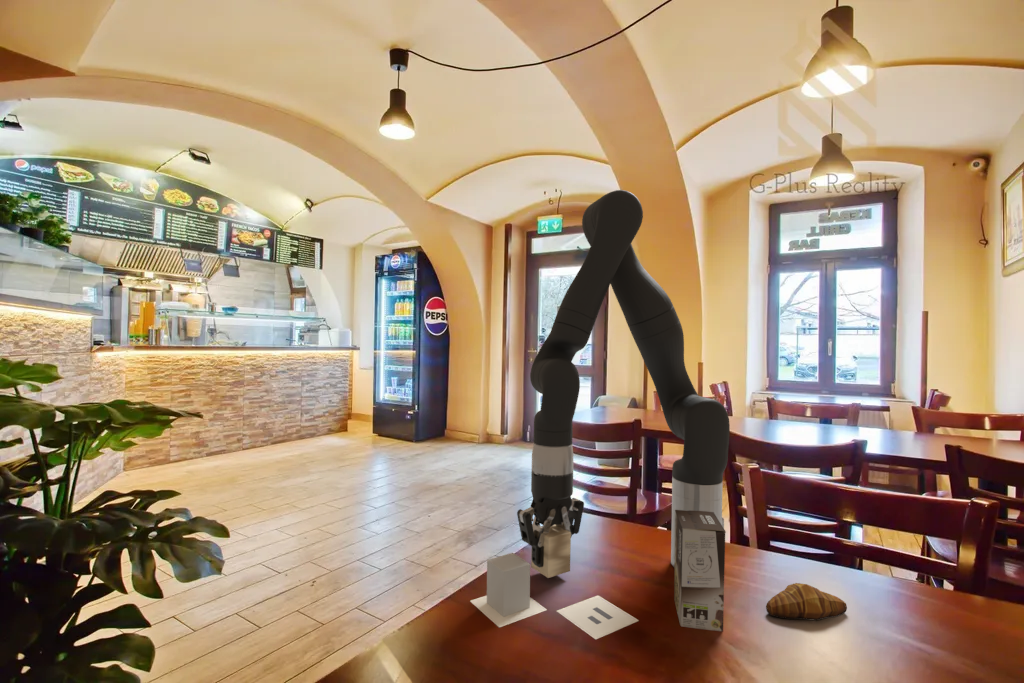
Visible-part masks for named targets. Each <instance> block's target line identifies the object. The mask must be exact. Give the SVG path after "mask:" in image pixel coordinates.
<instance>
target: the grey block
mask: <svg viewBox="0 0 1024 683" xmlns="http://www.w3.org/2000/svg"><path fill="white" fill-rule="evenodd" d="M486 595H487V603H488V604H489V605H490V606H491V607H492V608H493V609H495V610H496V611H497V612H498V613H499V614H500V615H502V616H503V617H505V616H508V615H511V614H513V613H516V612H519V611H522V610H525V609H527V608H530V596H531V563H530V562H528V561H526V560H525V559H523V558H522V557H520V556H519V555H517V554H516V553H514V552H511V553H507V554H504V555H499V556H495V557H493V558H488V559H487V560H486Z"/></svg>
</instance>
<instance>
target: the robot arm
mask: <svg viewBox="0 0 1024 683" xmlns="http://www.w3.org/2000/svg"><path fill="white" fill-rule="evenodd" d="M643 219H644V211H643V207H642V204H641V201H640V199H639V198H638V197H637V196H636V195H635V194H634V193H632V192H630V191H628V190H623V189H618V190H617V189H616V190H614V191H610V192H608V193H606V194H604V195H602V196H601V197H600V198H597V200H595V201H594V202H592V203H591V204H589V206H587V208H586V209H585V210H584V212H583V215H582V219H581V226H582V230H583V234H584V236H585V239H586V240H587V242H588V244H589V246H590V247H589V249H588V250H589V251H588V252H587V255H586V257H585V259H584V261H583V262H582V265H581V267H580V269H579V271H578V272H577V273H576V275H575V277H574V278H573V280H572V282H571V284H570V285H569V286H568V289H567V290H566V292H565V294H564V296H563V298H562V301H561V303H560V305H559V307H558V310H557V313H556V316H555V318H554V321H553V324H552V326H551V330H550V332H549V334H548V336H547V337H546V339H545V340H544V342H543V344H542V345H541V347H540V348H539V351H538V352H537V354H536V356H535V358H534V360H533V362H532V364H531V368H530V374H529V377H530V378H529V379H530V383H531V386H532V387H533V389H534V390H535V391H537V393H540V394H541V396H542V397H541V403H540V404H541V406H540V410H538V411H537V412H536V413H535V416H534V418H533V419H534V420H533V443H532V444H533V445H532V451H531V472H530V474H531V477H530V479H531V480H530V482H531V483H530V492H531V496H532V501H531V503H530V506H529V507H528V508H526V509H518V510H517V512H516V516H517V520H518V524H519V525H518V526H519V532H520V536H521V540H522V541H523V542H524V543H526V544H528V545H529V546H531V550H532V562H533V563H534V564H535V565H536V566H538V567H539V568H540V567H543V564H544V546H543V543H544V536H545V535H547V534H548V533H549V530H550V527H551V526H553V525H556V526H557V527H561V528H562V529H563V530H567V531H569V532H571V538H572V536H573V535H574V534H575V535H577V534H579V532H580V527H581V523H582V518H583V512H584V507H585V502H584V501H583V500H581V499H578V498H575V497H571V496H572V495H573V494H574V449H573V434H574V432H573V429H574V428H573V420H574V417H575V413H576V408H577V404H578V398H579V395H580V388H581V387H580V386H581V385H580V383H581V381H580V380H581V379H580V374H579V371H578V369H577V366H576V365H575V363H573V362H572V361H573V360H574V358H575V355H576V354H577V353H578V352H580V351H581V350H583V349H585V347H586V346H587V344H588V342H589V339H590V338H591V334H592V331H593V329H594V326H595V323H596V320H597V318H598V316H599V312H600V311H601V306H602V305H603V302H604V299H605V298H606V295H607V292H608V290H609V288H610V286H611V289H612V291H613V293H614V295H615V299H616V300H617V303H618V304H619V307H620V309H621V312H622V313H623V316H624V318H625V321H626V324H627V326H628V328H629V331H630V333H631V336H632V338H633V340H634V342H635V344H636V347H637V349H638V351H639V352H640V355H641V357H642V360H643V363H644V365H645V366H646V369H647V371H648V373H649V375H650V377H651V380H652V382H653V385H654V388H655V391H656V393H657V397H658V400H659V403H660V406H661V410H662V412H663V416H664V419H665V421H666V424H667V426H668V428H669V430H670V432H672V434H674V435H675V436H676V437H677V438H678V439H681V440H683V451H682V457H681V458H679V459H677V460H675V461H674V462H673V463H672V466H671V467H672V468H671V471H672V473H671V476H672V478H671V481H672V482H671V491H672V492H671V531H670V532H671V533H670V534H671V535H670V537H671V539H670V540H671V541H670V564H671V566H672V567H673V568H674V558H675V510H684V511H689V510H690V511H708V512H714V514H715V515H716V517H717V518H718V520H719V522H720V523H721V525H722V526H723V528H724V529H725V519H724V517H723V479H724V478H723V476H724V472H725V470H726V468H727V465H728V462H729V461H728V460H729V458H728V457H729V448H730V447H729V446H730V429H731V428H730V418H729V417H730V416H729V414H728V412H727V409H726V408H725V406H724V405H723V404H722V403H721V402H720V401H717V399H716V400H715V399H713V398H710V397H705V396H700V395H699V394H698V392H697V391H696V389H695V387H694V385H693V384H692V381H691V379H690V376H689V374H688V371H687V368H686V364H685V339H684V337H685V336H684V331H683V326H682V323H681V320H680V318H679V316H678V314H677V311H676V308H675V307H674V304H673V302H672V300H671V299H670V296H669V295H668V294H667V292H666V291H665V290H664V289H663V287H662V286H661V285H660V284H659V282H658V281H656V279H655V278H654V277H652V275H651V274H650V273H649V272H648V271H647V270H646V269H645V268H644V267H643V265H642V264H641V262H640V261H639V258H638V257H637V254H636V252H635V249H634V247H633V245H632V242H633V241H634V239H635V237H636V235H637V234H638V232H639V230H640V228H641V225H642V222H643ZM541 525H542V526H543V527H541ZM538 532H539V536H538ZM537 537H538V538H537Z"/></svg>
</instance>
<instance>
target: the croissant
mask: <svg viewBox="0 0 1024 683" xmlns="http://www.w3.org/2000/svg"><path fill="white" fill-rule="evenodd" d="M765 609H766V613H767V614H768V615H770V616H772V617H777V618H781V619H788V620H789V619H790V620H806V621H807V620H811V621H819V620H823V619H827V618H835V617H839V616H841V615H843V614H845V613H846V612H847V609H848V607H847V602H845V601H844V600H842V599H841V598H840V597H838V596H835V595H833V594H831V593H827V592H825V591H822V590H820V589H818V588H816V587H814V586H812V585H809V584H807V583H800V582H799V583H797V582H795V583H791V584H789V585H787V586H786V587H785V589H784V590H782V591H780V592H778V593H777V594H775V595H774V596H772V597H771V598H770V600H768V602H767V603H766V606H765Z"/></svg>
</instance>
